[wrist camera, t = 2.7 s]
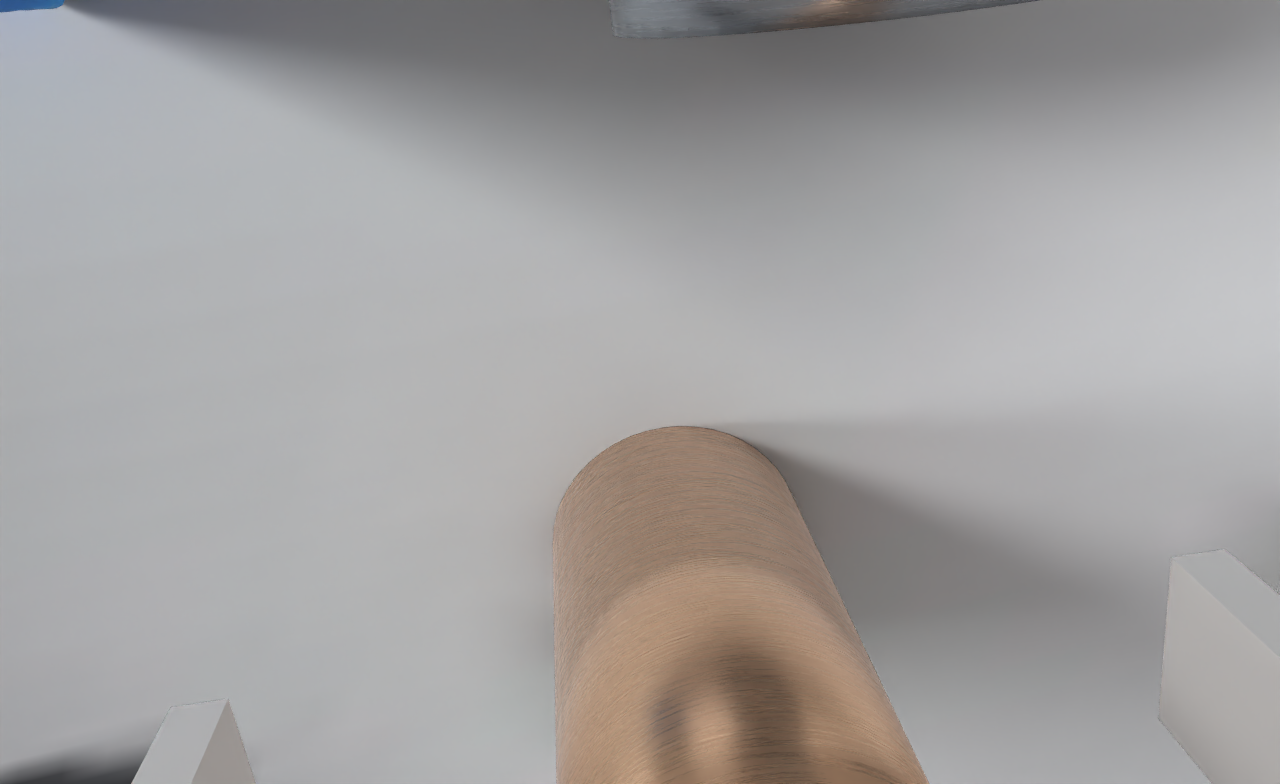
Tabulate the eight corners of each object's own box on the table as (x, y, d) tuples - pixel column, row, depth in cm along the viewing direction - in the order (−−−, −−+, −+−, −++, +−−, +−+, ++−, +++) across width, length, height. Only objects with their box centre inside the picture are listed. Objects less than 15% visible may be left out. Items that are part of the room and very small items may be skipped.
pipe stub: (572, 659, 20) (607, 1550, 9) (535, 446, 18) (520, 1206, 7) (805, 623, 20) (1138, 1455, 9) (789, 409, 18) (1177, 1096, 7)
